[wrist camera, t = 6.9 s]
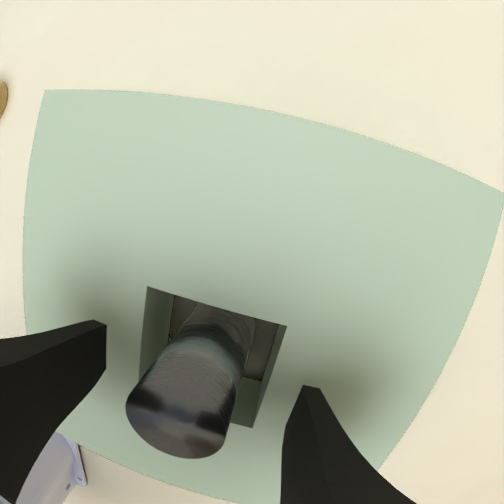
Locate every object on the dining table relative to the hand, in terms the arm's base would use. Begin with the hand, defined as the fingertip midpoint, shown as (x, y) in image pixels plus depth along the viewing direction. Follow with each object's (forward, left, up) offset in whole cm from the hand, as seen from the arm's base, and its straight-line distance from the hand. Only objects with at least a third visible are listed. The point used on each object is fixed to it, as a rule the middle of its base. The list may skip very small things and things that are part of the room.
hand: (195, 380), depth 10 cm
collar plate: (0, 0, -4) cm, 4 cm away
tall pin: (0, 0, -4) cm, 5 cm away
